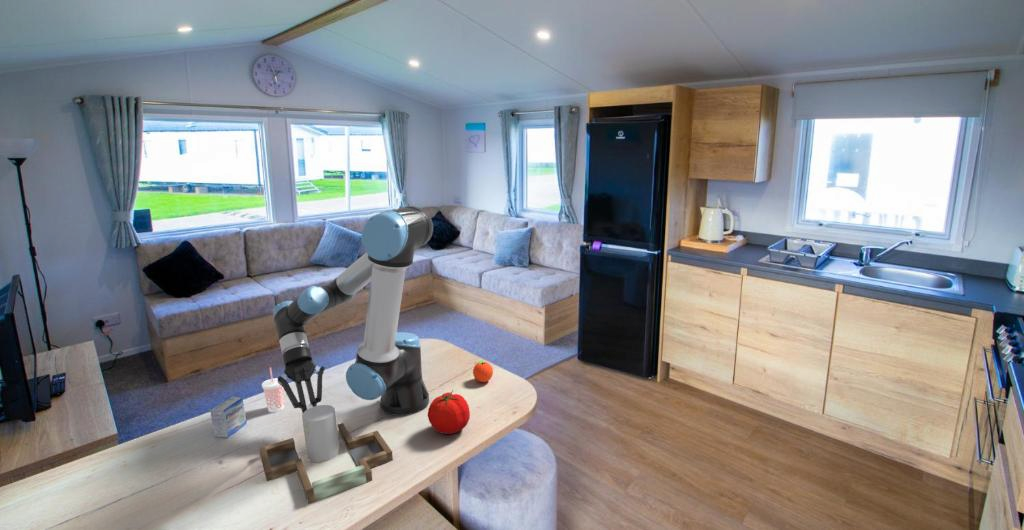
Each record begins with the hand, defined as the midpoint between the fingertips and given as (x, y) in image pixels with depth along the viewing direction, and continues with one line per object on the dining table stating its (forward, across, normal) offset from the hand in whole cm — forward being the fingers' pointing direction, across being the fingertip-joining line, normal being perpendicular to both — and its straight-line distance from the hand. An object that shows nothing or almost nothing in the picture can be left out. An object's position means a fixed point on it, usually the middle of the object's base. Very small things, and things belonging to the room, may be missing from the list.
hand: (314, 428), depth 140 cm
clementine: (-2, -57, -10) cm, 58 cm away
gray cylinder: (+7, -1, 0) cm, 7 cm away
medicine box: (-11, +20, -19) cm, 29 cm away
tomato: (+14, -34, +6) cm, 37 cm away
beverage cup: (-16, +6, -23) cm, 29 cm away
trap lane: (+11, -1, +4) cm, 12 cm away
